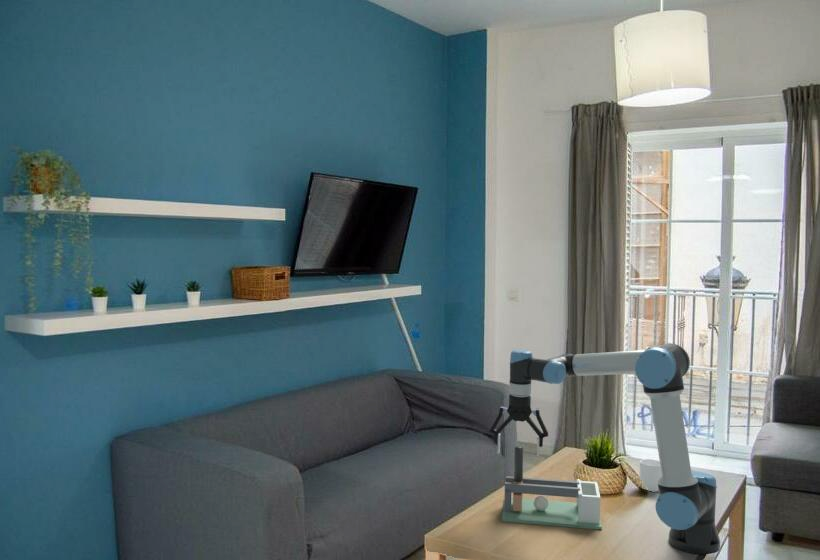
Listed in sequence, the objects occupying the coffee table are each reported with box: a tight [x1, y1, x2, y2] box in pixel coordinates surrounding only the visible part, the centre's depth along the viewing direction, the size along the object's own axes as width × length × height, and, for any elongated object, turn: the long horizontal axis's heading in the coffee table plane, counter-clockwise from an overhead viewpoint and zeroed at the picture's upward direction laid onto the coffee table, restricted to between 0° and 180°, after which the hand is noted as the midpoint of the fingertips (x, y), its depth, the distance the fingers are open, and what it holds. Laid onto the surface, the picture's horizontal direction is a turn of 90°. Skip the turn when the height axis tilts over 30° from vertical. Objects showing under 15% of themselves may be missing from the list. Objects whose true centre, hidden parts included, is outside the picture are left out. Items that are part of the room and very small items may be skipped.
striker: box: [512, 445, 524, 512], centre depth 250 cm, size 10×3×21 cm, turn 169°
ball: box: [534, 495, 549, 511], centre depth 249 cm, size 5×5×5 cm
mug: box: [639, 458, 662, 493], centre depth 275 cm, size 12×8×10 cm
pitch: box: [501, 475, 603, 530], centre depth 248 cm, size 20×33×11 cm, turn 79°
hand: (518, 454), depth 249 cm, fingers open, 13 cm apart
